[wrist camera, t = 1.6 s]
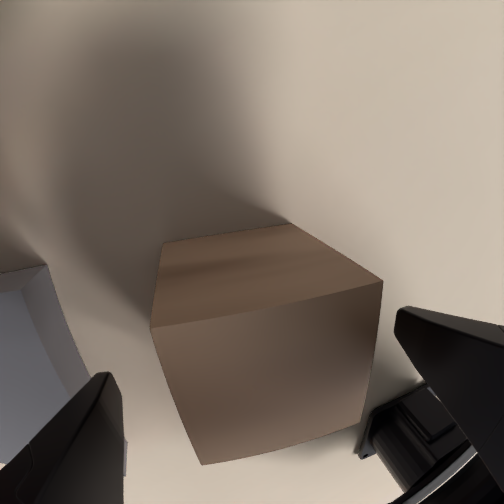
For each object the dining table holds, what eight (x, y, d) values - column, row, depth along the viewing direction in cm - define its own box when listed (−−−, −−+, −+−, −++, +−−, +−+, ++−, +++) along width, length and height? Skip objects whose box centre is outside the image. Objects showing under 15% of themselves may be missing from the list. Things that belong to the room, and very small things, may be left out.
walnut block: (296, 330, 13) (359, 422, 8) (187, 352, 12) (201, 465, 7) (291, 223, 12) (383, 280, 6) (163, 242, 11) (149, 328, 5)
